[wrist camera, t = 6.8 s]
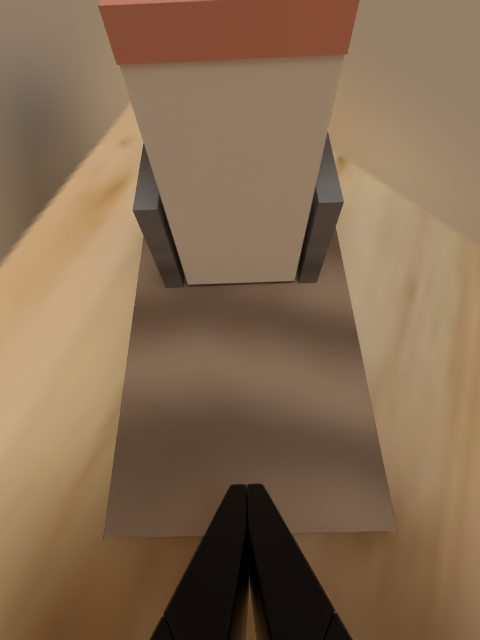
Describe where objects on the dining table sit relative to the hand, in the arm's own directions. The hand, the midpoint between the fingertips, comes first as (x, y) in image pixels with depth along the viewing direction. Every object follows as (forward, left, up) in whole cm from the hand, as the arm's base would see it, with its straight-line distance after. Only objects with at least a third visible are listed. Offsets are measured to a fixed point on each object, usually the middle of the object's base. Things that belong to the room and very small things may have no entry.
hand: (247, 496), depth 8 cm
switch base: (+4, +7, -7) cm, 11 cm away
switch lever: (+7, +10, -6) cm, 14 cm away
